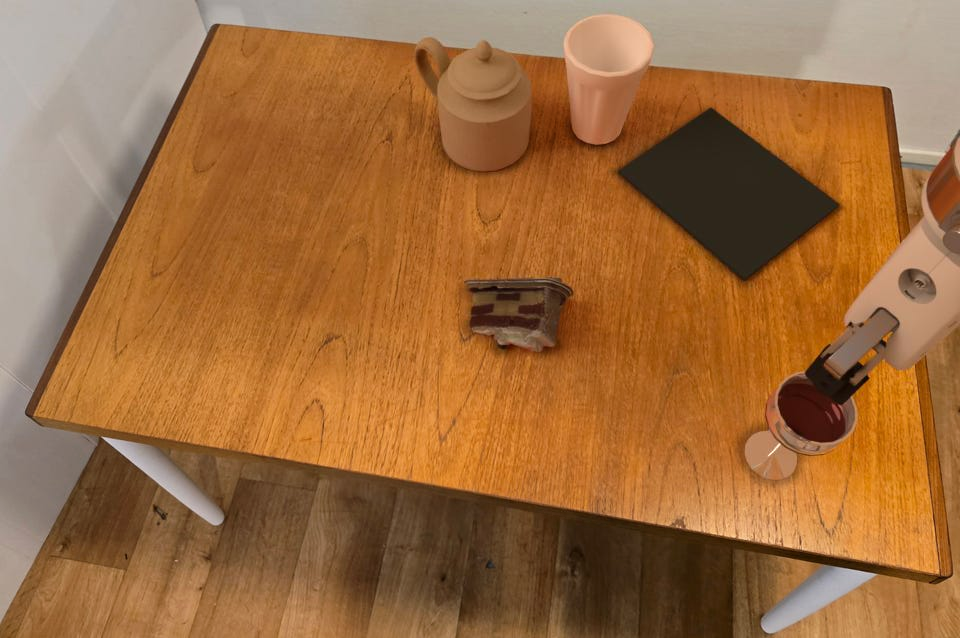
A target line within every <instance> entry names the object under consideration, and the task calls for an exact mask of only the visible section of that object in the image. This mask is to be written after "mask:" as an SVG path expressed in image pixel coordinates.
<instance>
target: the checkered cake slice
mask: <svg viewBox="0 0 960 638" xmlns="http://www.w3.org/2000/svg"><path fill="white" fill-rule="evenodd" d="M462 283H464V284H465V285H466V290H467V291H468V292H470V293H472V299H471V301H472V306H471V308H470V321H469V328H470V329H471V330H472V332H473V333H478V334H480V335H486V336H488V337H490V336H493V338H494V340H495V341H497V347H498V348H499V349H500V350H506V349H507V348H508V346H509V345H514V346H517V347H521V348H523V349H526V350H529V351H532V352H536V353H541V352H542V351H543V349H544V347H548V348H553V347H555V346H556V345H557V331H558V330H559V324H560V317H561V313H562V308H563V307H564V306H565V305H564V304H565V302H566V301H567V300H568V299H569V298H570V297H572V296H573V295H574V292H575V290H574V289H573V288H572V287H571V286H570V285H569V284H565V283H564V282H563V280H562V278H560V277H553V276H551V277H533V278H532V277H516V278H489V279H480V278H468V279H465V280H463V281H462Z"/></svg>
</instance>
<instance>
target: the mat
mask: <svg viewBox="0 0 960 638" xmlns="http://www.w3.org/2000/svg"><path fill="white" fill-rule="evenodd" d="M617 174H619V176H621V178H623V180H625V181H626V182H628V184H630V185H631V186H632V187H633V188H635V189H636V190H637V191H638V192H639V193H640V194H641V195H642V196H644V198H646V199H647V200H648V201H650V202H651V203H652V204H653V205H654V206H656V207H657V208H658V209H659V210H660V211H662V213H664V214H665V215H666V216H667V217H668V218H669V219H671V220H672V221H673V222H674V223H676V224H677V226H679V227H680V228H681V229H682V230H684V232H686V233H687V234H688V235H689V236H690V237H692V239H694V240H695V241H696V242H697V243H699V244H700V245H701V246H702V247H703V248H705V249H706V250H707V251H708V252H709V253H710V254H711V255H713V256H714V257H715V258H716V259H718V261H720V263H722V264H723V265H724V266H726V267H727V268H728V269H729V270H730V271H731V272H733V273H734V274H735V275H736V276H737V277H738V278H739V279H741V280H742V281H743V282H745V281H746V280H748V279H749V278H751V277H752V276H753V275H755V273H757V272H758V271H759V270H761V269H763V267H764V266H766V265H767V264H768V263H769V262H771V261H772V260H773V259H775V258H776V257H778V255H780V254H781V253H783V252H784V251H785V250H786V249H787V248H788V247H790V246H791V245H792V244H793V243H795V242H796V241H798V240H799V239H800V238H801V237H802V236H804V235H805V234H806V233H807V232H809V231H810V230H811V229H812V228H814V227H815V226H816V225H817V224H819V223H820V222H821V221H823V220H824V219H825V218H827V217H828V216H829V215H830V214H832V213H833V212H834V211H835V210H836V209H838V208H839V206H840V203H839V202H837V201H836V200H835V199H833V198H832V197H831V196H830V195H828V194H827V193H826V192H824V191H823V190H822V189H820V188H819V187H817V185H815V184H814V183H813V182H811V181H809V179H807V178H805V177H804V175H802V174H800V173H799V172H798V171H796V170H795V169H794V168H793V167H791V166H790V165H788V164H787V163H785V161H783V160H782V159H780V158H779V157H778V156H776V154H774V153H772V152H771V151H770V150H768V149H767V148H766V147H765V146H763V145H762V144H761V143H759V142H758V141H757V140H755V139H754V138H752V137H751V136H750V135H748V133H746V132H744V131H743V130H742V129H741V128H740V127H738V126H736V125H735V124H734V123H732V122H731V121H730V120H728V119H727V118H726V117H725V116H724V115H722V114H720V113H719V112H718V111H717V110H715V109H714V108H713V107H709V108H708V109H706V110H705V111H703V112H702V113H700V114H699V115H697V116H695V118H693V119H691V120H690V121H688V122H687V123H686V124H683V126H680V128H677V130H675V131H674V132H672V133H671V134H670V135H668V136H666V137H665V138H663V139H662V140H660V141H659V142H657V143H656V144H655V145H653V146H651V147H650V148H648V150H646V151H644V152H643V153H642V154H640V155H639V156H637V157H635V158H634V159H633V160H631V161H630V162H628V163H627V164H625V165H623V166H622V167H620V168H619V169H618V170H617Z"/></svg>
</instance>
